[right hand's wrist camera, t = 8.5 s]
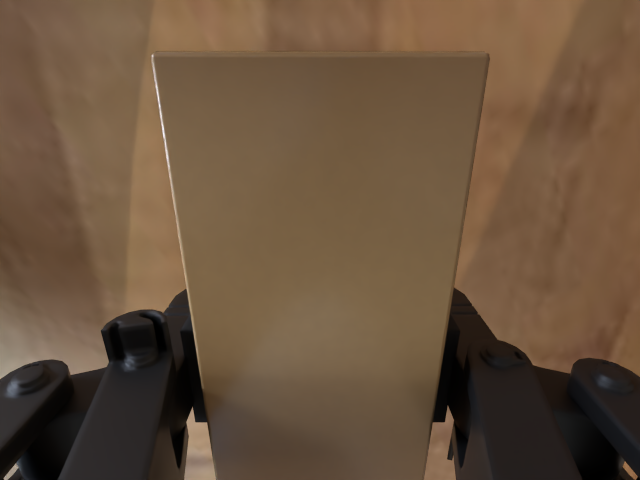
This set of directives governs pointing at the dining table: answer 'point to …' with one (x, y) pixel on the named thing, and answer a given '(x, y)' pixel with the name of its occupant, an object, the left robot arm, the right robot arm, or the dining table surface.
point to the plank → (320, 248)
